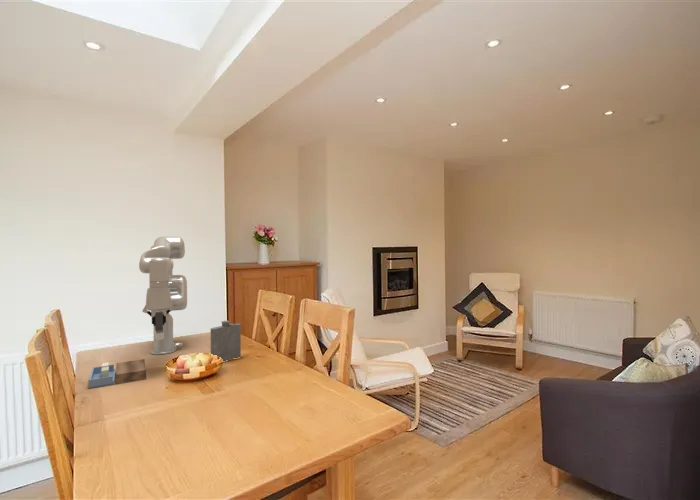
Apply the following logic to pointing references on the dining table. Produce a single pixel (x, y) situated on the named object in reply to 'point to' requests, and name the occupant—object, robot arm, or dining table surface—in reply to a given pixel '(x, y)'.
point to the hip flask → (226, 341)
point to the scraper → (159, 326)
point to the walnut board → (130, 371)
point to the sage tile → (105, 372)
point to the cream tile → (105, 364)
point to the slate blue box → (96, 378)
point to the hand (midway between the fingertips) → (158, 324)
